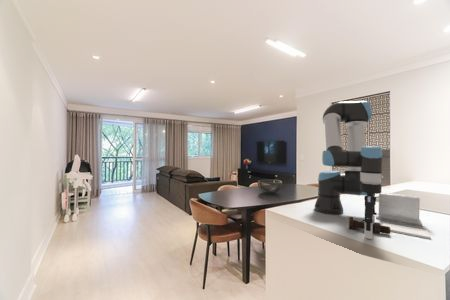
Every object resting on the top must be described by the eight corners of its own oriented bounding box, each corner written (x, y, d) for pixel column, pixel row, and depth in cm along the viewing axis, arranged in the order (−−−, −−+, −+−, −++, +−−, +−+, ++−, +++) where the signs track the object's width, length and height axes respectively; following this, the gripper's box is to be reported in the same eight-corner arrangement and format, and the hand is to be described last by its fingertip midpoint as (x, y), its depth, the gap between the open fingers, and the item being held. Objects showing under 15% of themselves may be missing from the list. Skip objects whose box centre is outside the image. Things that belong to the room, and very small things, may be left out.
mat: (381, 229, 98) (381, 227, 98) (382, 224, 106) (382, 222, 106) (430, 239, 88) (430, 237, 88) (427, 232, 96) (427, 230, 96)
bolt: (389, 240, 91) (348, 231, 99) (388, 231, 95) (349, 223, 103) (391, 230, 89) (349, 222, 96) (390, 221, 92) (349, 214, 100)
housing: (376, 218, 114) (376, 193, 114) (377, 214, 122) (377, 191, 122) (422, 226, 103) (422, 199, 103) (420, 221, 111) (420, 196, 111)
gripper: (380, 187, 80) (379, 245, 80) (382, 181, 100) (381, 227, 100) (356, 185, 85) (355, 240, 85) (363, 179, 104) (362, 224, 104)
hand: (369, 233), depth 92 cm, fingers open, 12 cm apart
